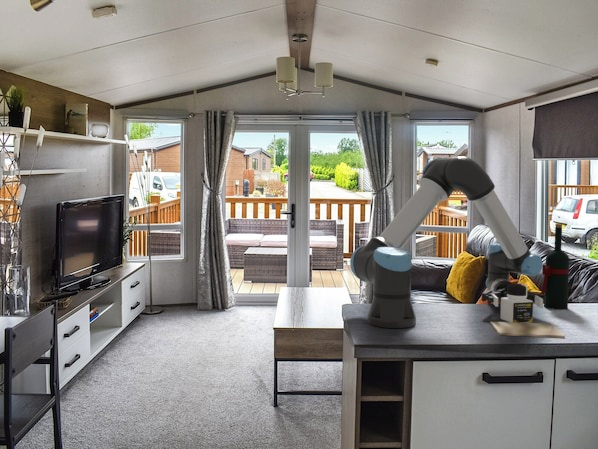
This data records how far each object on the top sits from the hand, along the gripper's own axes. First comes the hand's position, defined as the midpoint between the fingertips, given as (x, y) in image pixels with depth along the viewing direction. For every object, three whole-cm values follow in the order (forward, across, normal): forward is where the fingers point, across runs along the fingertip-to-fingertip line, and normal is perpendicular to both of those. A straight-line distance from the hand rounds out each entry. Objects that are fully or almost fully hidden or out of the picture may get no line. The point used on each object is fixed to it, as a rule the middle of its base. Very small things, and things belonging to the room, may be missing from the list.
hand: (519, 303), depth 179 cm
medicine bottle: (-3, 0, -7) cm, 7 cm away
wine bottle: (-26, -18, -7) cm, 32 cm away
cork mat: (+9, 0, -6) cm, 11 cm away
